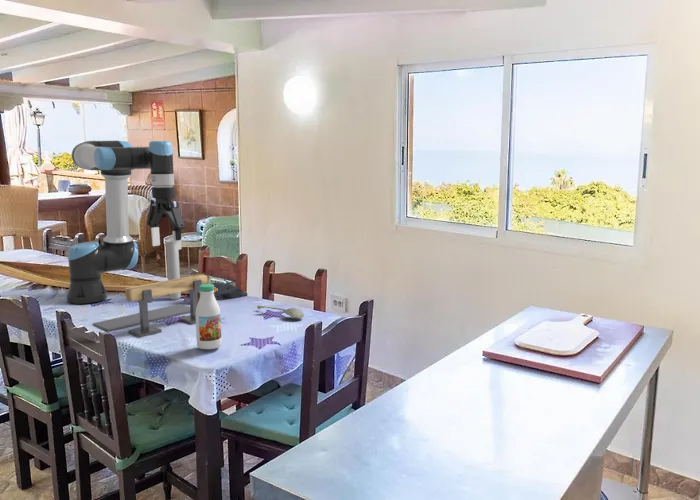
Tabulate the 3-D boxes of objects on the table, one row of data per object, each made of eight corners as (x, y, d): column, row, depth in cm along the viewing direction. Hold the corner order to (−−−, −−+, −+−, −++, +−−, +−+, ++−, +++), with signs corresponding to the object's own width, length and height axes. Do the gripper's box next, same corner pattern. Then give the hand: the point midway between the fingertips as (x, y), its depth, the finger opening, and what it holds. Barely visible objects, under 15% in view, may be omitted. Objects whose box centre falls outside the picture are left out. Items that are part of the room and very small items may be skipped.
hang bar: (126, 299, 204) (125, 288, 203) (201, 284, 226) (200, 274, 225) (132, 301, 201) (131, 290, 200) (207, 286, 223) (207, 275, 222)
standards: (128, 332, 208) (125, 289, 205) (197, 315, 228) (195, 276, 226) (140, 337, 203) (137, 292, 200) (210, 319, 223) (208, 279, 221)
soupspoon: (295, 321, 223) (307, 317, 228) (295, 313, 222) (307, 309, 228) (252, 310, 236) (264, 306, 241) (252, 302, 235) (264, 298, 240)
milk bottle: (192, 348, 191) (188, 286, 188) (206, 341, 198) (203, 281, 195) (212, 351, 189) (210, 288, 185) (226, 343, 196) (223, 283, 192)
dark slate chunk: (226, 287, 277) (226, 277, 276) (250, 296, 260) (249, 285, 259) (195, 292, 267) (194, 282, 266) (217, 302, 250) (217, 291, 249)
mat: (92, 325, 217) (92, 323, 217) (180, 305, 243) (180, 303, 243) (108, 332, 209) (108, 329, 209) (197, 311, 235) (197, 309, 235)
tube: (183, 300, 252) (180, 241, 248) (171, 302, 249) (168, 242, 245) (178, 297, 256) (175, 239, 252) (166, 299, 253) (163, 240, 249)
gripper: (134, 185, 213) (138, 245, 216) (173, 188, 196) (177, 252, 200) (153, 184, 218) (157, 242, 222) (193, 187, 202) (196, 249, 205)
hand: (166, 247), depth 211 cm, fingers open, 13 cm apart
